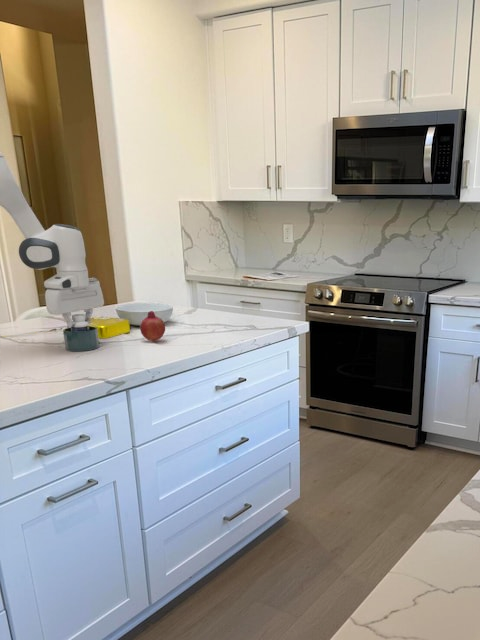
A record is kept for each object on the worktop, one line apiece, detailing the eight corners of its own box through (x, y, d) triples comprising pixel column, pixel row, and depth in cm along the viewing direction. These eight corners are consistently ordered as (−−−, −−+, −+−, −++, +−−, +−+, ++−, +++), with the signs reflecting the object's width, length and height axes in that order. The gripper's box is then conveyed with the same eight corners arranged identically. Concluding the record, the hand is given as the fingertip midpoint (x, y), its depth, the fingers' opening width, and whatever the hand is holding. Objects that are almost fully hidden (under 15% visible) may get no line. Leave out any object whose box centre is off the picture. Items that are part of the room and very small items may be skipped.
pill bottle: (93, 346, 192) (89, 315, 189) (75, 348, 189) (71, 317, 186) (88, 343, 196) (84, 312, 193) (71, 345, 194) (67, 314, 190)
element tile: (69, 335, 210) (67, 322, 208) (99, 327, 223) (97, 314, 221) (104, 339, 205) (102, 325, 203) (132, 331, 218) (131, 318, 216)
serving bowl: (154, 332, 220) (152, 313, 217) (105, 327, 226) (103, 309, 224) (184, 321, 238) (183, 304, 236) (139, 317, 245) (137, 300, 242)
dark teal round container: (74, 352, 186) (71, 333, 184) (60, 347, 193) (57, 328, 191) (104, 347, 193) (102, 329, 191) (90, 343, 200) (88, 325, 198)
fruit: (165, 343, 201) (162, 313, 197) (140, 344, 200) (137, 313, 196) (167, 338, 208) (164, 308, 205) (142, 338, 207) (139, 309, 203)
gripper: (90, 276, 196) (95, 319, 201) (39, 282, 178) (46, 329, 183) (105, 277, 193) (110, 320, 198) (55, 283, 176) (61, 331, 181)
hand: (79, 325), depth 191 cm, fingers closed on pill bottle, 5 cm apart
